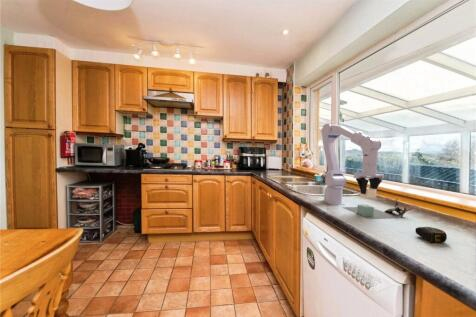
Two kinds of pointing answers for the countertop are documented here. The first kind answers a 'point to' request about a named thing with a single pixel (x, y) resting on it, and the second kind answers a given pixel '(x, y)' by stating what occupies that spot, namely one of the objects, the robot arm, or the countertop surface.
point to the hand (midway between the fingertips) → (367, 193)
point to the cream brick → (369, 193)
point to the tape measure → (431, 234)
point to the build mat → (376, 214)
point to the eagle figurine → (398, 209)
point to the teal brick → (365, 210)
